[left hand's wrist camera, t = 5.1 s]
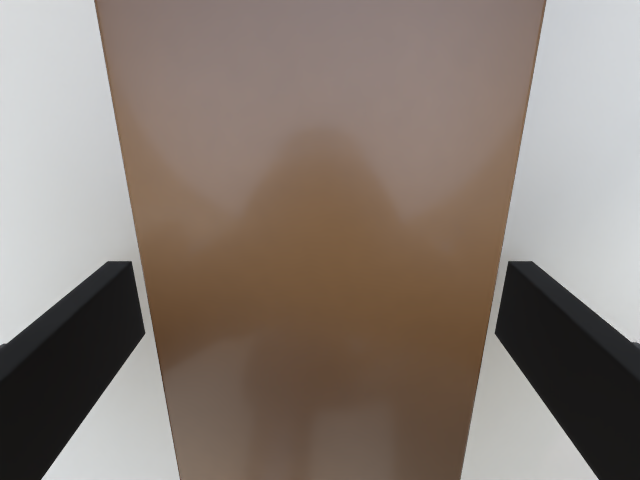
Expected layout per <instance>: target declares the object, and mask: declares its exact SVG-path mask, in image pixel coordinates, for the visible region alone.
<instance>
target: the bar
mask: <svg viewBox="0 0 640 480" xmlns="http://www.w3.org/2000/svg"><path fill="white" fill-rule="evenodd" d="M94 2H95V7H96V13H97V18H98V24H99V29H100V35H101V41H102V46H103V52H104V57H105V63H106V68H107V74H108V80H109V85H110V91H111V96H112V102H113V108H114V113H115V119H116V124H117V130H118V135H119V141H120V147H121V152H122V158H123V163H124V169H125V175H126V180H127V186H128V191H129V197H130V202H131V208H132V214H133V219H134V225H135V230H136V236H137V242H138V247H139V253H140V258H141V264H142V269H143V275H144V281H145V286H146V292H147V297H148V303H149V309H150V314H151V320H152V325H153V331H154V336H155V342H156V348H157V353H158V359H159V364H160V370H161V375H162V381H163V387H164V392H165V398H166V403H167V409H168V415H169V420H170V426H171V431H172V437H173V442H174V448H175V454H176V459H177V465H178V470H179V476H180V480H460V479H461V473H462V467H463V462H464V456H465V451H466V445H467V440H468V434H469V429H470V423H471V417H472V412H473V406H474V401H475V395H476V390H477V384H478V378H479V373H480V367H481V362H482V356H483V351H484V345H485V339H486V334H487V328H488V323H489V317H490V312H491V306H492V301H493V295H494V289H495V284H496V278H497V273H498V267H499V262H500V256H501V250H502V245H503V239H504V234H505V228H506V223H507V217H508V211H509V206H510V200H511V195H512V189H513V184H514V178H515V173H516V167H517V161H518V156H519V150H520V145H521V139H522V134H523V128H524V122H525V117H526V111H527V106H528V100H529V95H530V89H531V83H532V78H533V72H534V67H535V61H536V56H537V50H538V45H539V39H540V33H541V28H542V22H543V17H544V11H545V6H546V0H94Z"/></svg>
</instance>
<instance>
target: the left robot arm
mask: <svg viewBox="0 0 640 480" xmlns="http://www.w3.org/2000/svg"><path fill="white" fill-rule="evenodd" d="M144 334H145V329H144V324H143V319H142V314H141V308H140V303H139V298H138V293H137V287H136V282H135V277H134V272H133V266H132V261H108V262H106V263H105V264H104V265H103V266H102V267H100V268H99V269H98V270H97V271H95V272H94V273H93V274H92V275H91V276H89V277H88V278H87V279H86V280H84V281H83V282H82V283H81V284H80V285H78V286H77V287H76V288H75V289H73V290H72V291H71V292H70V293H69V294H67V295H66V296H65V297H64V298H62V299H61V300H60V301H59V302H57V303H56V304H55V305H54V306H53V307H51V308H50V309H49V310H48V311H46V312H45V313H44V314H43V315H42V316H40V317H39V318H38V319H37V320H35V321H34V322H33V323H32V324H31V325H29V326H28V327H27V328H26V329H24V330H23V331H22V332H21V333H20V334H18V335H17V336H16V337H15V338H13V339H12V340H11V341H10V342H8V343H7V344H2V345H1V346H0V480H41V479H42V478H43V476H44V475H45V473H46V472H47V471H48V469H49V468H50V466H51V465H52V464H53V462H54V461H55V459H56V458H57V457H58V455H59V454H60V452H61V451H62V450H63V448H64V447H65V445H66V444H67V443H68V441H69V440H70V438H71V437H72V436H73V434H74V433H75V431H76V430H77V429H78V427H79V426H80V424H81V423H82V421H83V420H84V419H85V417H86V416H87V414H88V413H89V412H90V410H91V409H92V407H93V406H94V405H95V403H96V402H97V400H98V399H99V398H100V396H101V395H102V393H103V392H104V391H105V389H106V388H107V386H108V385H109V384H110V382H111V381H112V379H113V378H114V377H115V375H116V374H117V372H118V371H119V370H120V368H121V367H122V365H123V364H124V363H125V361H126V360H127V358H128V357H129V356H130V354H131V353H132V351H133V350H134V349H135V347H136V346H137V344H138V343H139V342H140V340H141V339H142V337H143V336H144ZM495 335H496V336H497V337H498V339H499V340H500V342H501V343H502V344H503V346H504V347H505V349H506V350H507V351H508V353H509V354H510V356H511V357H512V358H513V360H514V361H515V363H516V364H517V365H518V367H519V368H520V370H521V371H522V372H523V374H524V375H525V377H526V378H527V379H528V381H529V382H530V384H531V385H532V386H533V388H534V389H535V391H536V392H537V393H538V395H539V396H540V398H541V399H542V400H543V402H544V403H545V405H546V406H547V407H548V409H549V410H550V412H551V413H552V414H553V416H554V417H555V419H556V420H557V422H558V423H559V424H560V426H561V427H562V429H563V430H564V431H565V433H566V434H567V436H568V437H569V438H570V440H571V441H572V443H573V444H574V445H575V447H576V448H577V450H578V451H579V452H580V454H581V455H582V457H583V458H584V459H585V461H586V462H587V464H588V465H589V466H590V468H591V469H592V471H593V472H594V473H595V475H596V476H597V478H598V479H599V480H640V344H639V343H637V342H630V341H629V340H628V339H627V338H625V337H624V336H623V335H622V334H620V333H619V332H618V331H617V330H616V329H614V328H613V327H612V326H611V325H609V324H608V323H607V322H606V321H605V320H603V319H602V318H601V317H600V316H598V315H597V314H596V313H595V312H594V311H592V310H591V309H590V308H589V307H587V306H586V305H585V304H584V303H582V302H581V301H580V300H579V299H578V298H576V297H575V296H574V295H573V294H571V293H570V292H569V291H568V290H567V289H565V288H564V287H563V286H562V285H560V284H559V283H558V282H557V281H556V280H554V279H553V278H552V277H551V276H549V275H548V274H547V273H546V272H545V271H543V270H542V269H541V268H540V267H538V266H537V265H536V264H535V263H533V262H532V261H508V266H507V272H506V277H505V282H504V287H503V293H502V298H501V303H500V308H499V314H498V319H497V324H496V329H495Z"/></svg>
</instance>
